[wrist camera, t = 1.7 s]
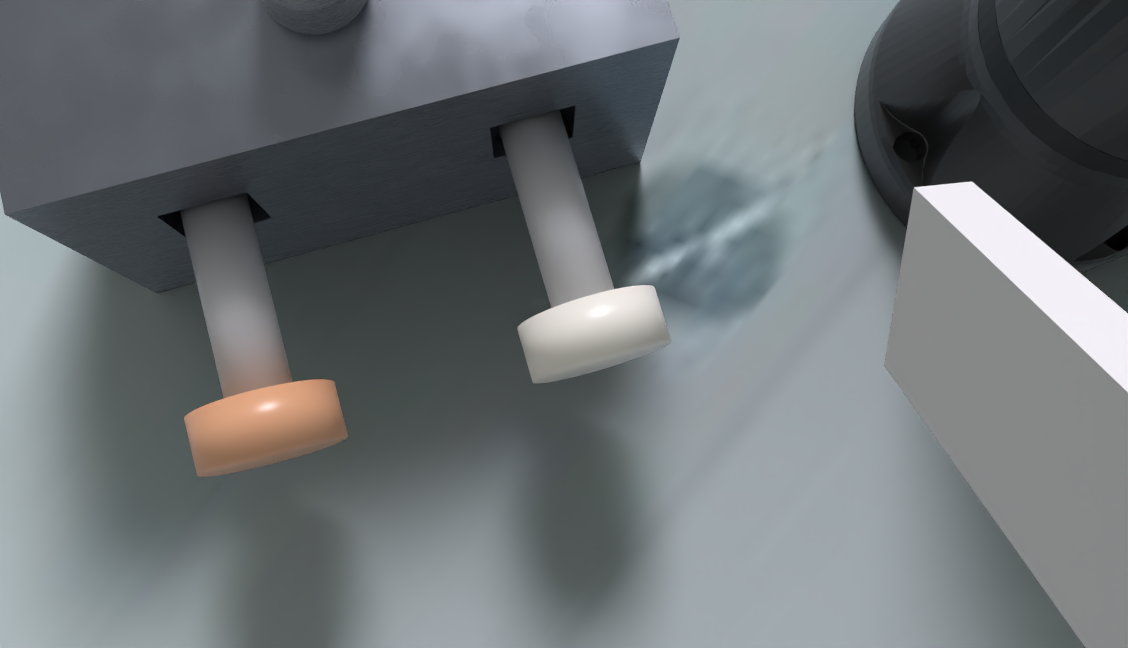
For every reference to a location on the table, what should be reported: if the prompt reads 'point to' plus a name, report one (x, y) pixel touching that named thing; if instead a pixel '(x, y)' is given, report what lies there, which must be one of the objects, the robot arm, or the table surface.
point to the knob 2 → (572, 265)
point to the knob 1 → (249, 355)
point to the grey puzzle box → (301, 114)
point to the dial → (314, 14)
